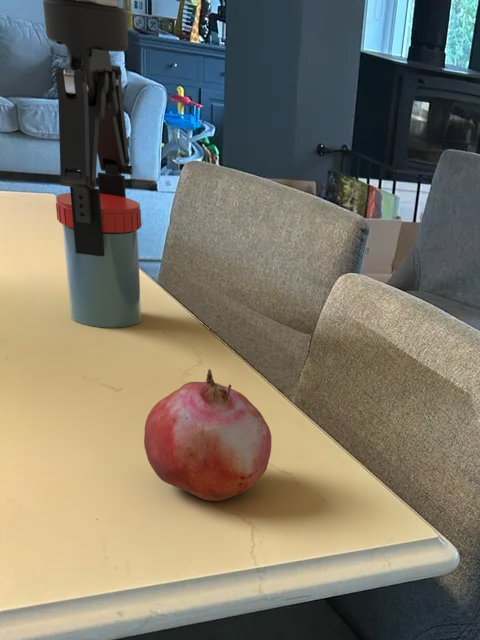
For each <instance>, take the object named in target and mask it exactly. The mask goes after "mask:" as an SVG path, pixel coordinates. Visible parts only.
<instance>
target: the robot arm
mask: <svg viewBox="0 0 480 640" xmlns="http://www.w3.org/2000/svg"><path fill="white" fill-rule="evenodd" d="M42 5H43V12H44V13H43V14H44V15H43V16H44V25H45V35H46V37H47V39H48V40H49V41H50V42H52V43H53V44H58V45H64V46H65V48H66V50H67V51H66V65H65V67H58V66H56V67H55V69H54V76H55V83H56V90H57V102H58V103H57V104H58V135H59V136H58V138H59V139H58V141H59V170H60V171H59V177H58V180H59V185H60V186H61V187H62V186H63V187H69V193H71V204H72V215H73V226H74V237H75V248H76V253H78V254H86V255H94V256H101V257H103V256H104V241H103V228H102V215H101V201H100V194H108V195H115V196H120V197H125V198H127V195H126V193H127V192H126V177H125V175H127V176H128V175H129V176H132V175H133V165H130V163H131V159H130V153H129V144H128V135H127V127H126V126H127V125H126V118H125V107H124V100H123V99H124V98H123V91H122V90H123V89H122V88H123V87H122V76H123V72H122V68H121V66H120V65H115V64H112V61H111V55H110V52H116V53H117V52H118V53H121V52H126V51H128V48H129V32H128V14H127V12H126V11H125V8H124V7H120V0H42ZM98 163H99V168H100V171H101V172H97V165H98ZM97 184H98V185H97ZM96 186H98V188H97V187H96Z"/></svg>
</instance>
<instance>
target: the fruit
mask: <svg viewBox="0 0 480 640" xmlns="http://www.w3.org/2000/svg"><path fill="white" fill-rule="evenodd" d="M143 445H144V450H145V454H146V458H147V460H148V461H147V462H148V463H149V465H150V467H151V469H152V470H153V471H154V473H155V475H157V477H158V478H159V479H160V480H161V481H162V482H163V483H166V484H168V485H171V486H173V487H176V488H178V489H181V490H183V491H184V492H187V493H189V494H191V495H193V496H195V497H198V498H199V499H200V500H203V501H210V502H215V501H216V502H217V501H224V500H227V499H229V498H232V497H235V496H237V495H241V494H243V493H245V492H246V491H248V490H250V489H251V488H252V487H253V486H255V485H256V483H257V482H258V481H259V480H260V479H261V477H262V476H263V475H264V474H265V473H266V472H267V469H268V465H269V463H270V458H271V453H272V433H271V429H270V427H269V425H268V423H267V421H266V420H265V417H264V416H263V415H262V413H261V411H260V410H259V409H258V408H257V407H256V406H255V405H254V404H253V403H252V402H251V401H250V400H249V399H248V397H246V396H245V395H244V394H243V393H241V392H239V391H237V390H235V389H233V388H232V384H228V386H226V385H223V384H220V383H217V382H215V380H214V377H213V372H212V370H211V369H210V368H208V369H207V374H206V379H205V381H188V382H186V383H184V384H183V385H181V386H180V387H179V388H178V389H175V390H174V391H173V392H171V393H170V394H168V395H166V396H165V397H163V398H162V399H160V400H159V401H158V402H157V403H156V404H155V405H154V406H153V407H152V408H151V410H150V411H149V413H148V415H147V417H146V419H145V425H144V435H143Z"/></svg>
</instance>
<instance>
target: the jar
mask: <svg viewBox="0 0 480 640" xmlns="http://www.w3.org/2000/svg"><path fill="white" fill-rule="evenodd" d="M62 231H63V232H62V234H63V244H64V255H65V265H66V266H65V267H66V278H67V279H66V280H67V289H68V301H69V311H70V318H71V319H72V320H73V321H75V322H76V323H79V324H82V325H85V326H90V327H97V328H106V329H107V328H109V329H111V328H112V329H113V328H114V329H115V328H127V327H132V326H135V325H138V324H139V323H140V322H141V321H142V301H141V300H142V299H141V280H140V279H141V278H140V263H139V262H140V259H139V238H138V230H136V231H131V232H121V233H109V232H103V241H104V256H103V257H101V256H94V255H86V254H78V253H76V248H75V237H74V228H72V227H68V226H66V225H63V224H62Z"/></svg>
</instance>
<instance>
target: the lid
mask: <svg viewBox="0 0 480 640" xmlns="http://www.w3.org/2000/svg"><path fill="white" fill-rule="evenodd" d="M55 200H56V203H55V207H56V219H57V221H58V222H59V223H60V224H61V225H62V226H63V225H66V226H68V227H72V228H74V226H73V215H72V204H71V193H70V192H65V193H61V194H58V195H57V196H56V197H55ZM100 201H101V215H102V228H103V232H109V233H121V232H131V231H136V230H137V231H139V230H140V229H141V227H142V212H141V211H142V210H141V204H140V202H138V201H136V200H134V199H131V198H127V197H126V198H125V197H120V196H115V195H108V194H100Z"/></svg>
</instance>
